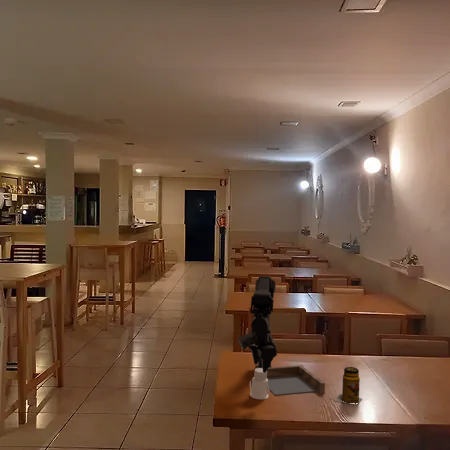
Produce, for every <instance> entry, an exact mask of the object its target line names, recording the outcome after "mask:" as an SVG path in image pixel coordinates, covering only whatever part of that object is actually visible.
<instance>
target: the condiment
mask: <svg viewBox="0 0 450 450" xmlns="http://www.w3.org/2000/svg"><path fill="white" fill-rule="evenodd" d="M359 372H360V371H359V368H357V367H354V366H345V367H344V368H343V375H342V393H339V394H338V395H337V397H336V398H335V399H334V400H333V401H335V402H339V403H344V402H346V403H344V404H347V403H355V404H356V403H358V404H357V405H356V406H358V405H359V404H360V403H361V401H362V399H363V398H361V397H360V376H359V374H360V373H359ZM342 401H344V402H342Z"/></svg>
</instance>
